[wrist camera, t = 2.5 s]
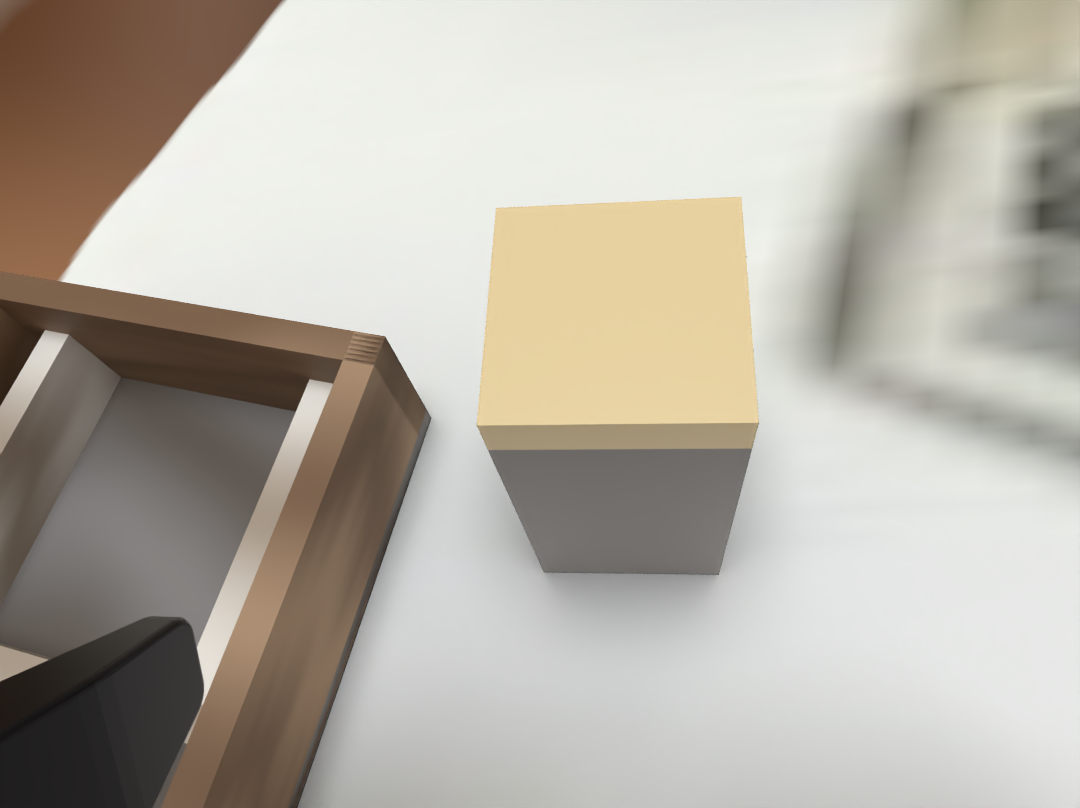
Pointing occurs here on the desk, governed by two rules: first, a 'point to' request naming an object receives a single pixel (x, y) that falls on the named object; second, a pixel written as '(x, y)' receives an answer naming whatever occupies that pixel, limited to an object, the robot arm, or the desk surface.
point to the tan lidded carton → (621, 381)
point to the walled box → (200, 507)
